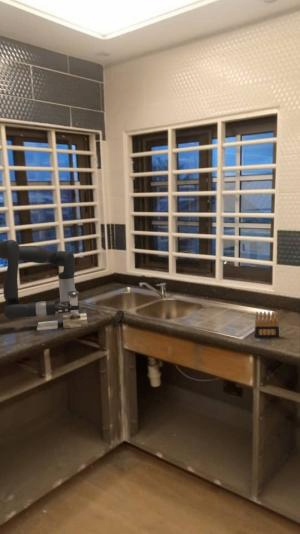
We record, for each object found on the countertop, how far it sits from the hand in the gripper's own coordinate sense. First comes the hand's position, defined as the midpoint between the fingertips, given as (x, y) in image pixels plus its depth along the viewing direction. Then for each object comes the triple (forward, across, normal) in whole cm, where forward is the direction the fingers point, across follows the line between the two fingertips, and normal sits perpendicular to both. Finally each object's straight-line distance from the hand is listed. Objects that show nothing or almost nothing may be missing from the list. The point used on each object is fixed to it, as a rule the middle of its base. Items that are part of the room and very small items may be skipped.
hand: (78, 305), depth 213 cm
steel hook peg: (-2, 0, +10) cm, 10 cm away
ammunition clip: (+82, -46, +10) cm, 94 cm away
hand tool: (+20, -4, +10) cm, 22 cm away
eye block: (-2, 0, +10) cm, 10 cm away
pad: (-16, 0, +10) cm, 19 cm away
